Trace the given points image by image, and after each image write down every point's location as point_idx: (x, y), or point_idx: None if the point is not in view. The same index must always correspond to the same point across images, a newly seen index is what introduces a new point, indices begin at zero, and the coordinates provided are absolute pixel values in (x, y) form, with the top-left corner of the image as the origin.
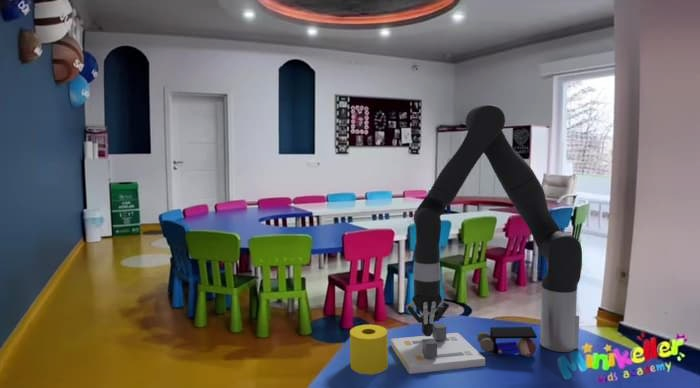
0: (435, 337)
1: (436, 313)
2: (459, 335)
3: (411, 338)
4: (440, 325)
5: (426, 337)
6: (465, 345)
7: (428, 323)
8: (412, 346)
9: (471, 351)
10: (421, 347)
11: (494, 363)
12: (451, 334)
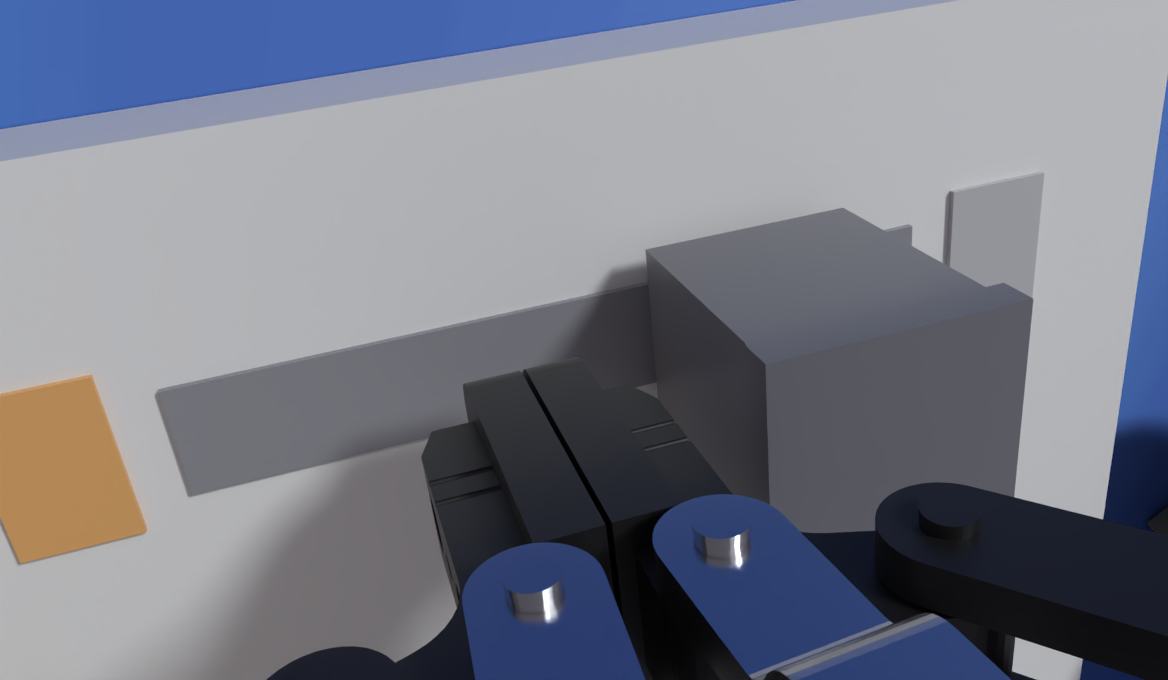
0: (676, 423)
1: (1070, 618)
2: (1143, 110)
3: (156, 228)
4: (923, 454)
5: (519, 177)
6: (1035, 499)
7: (642, 649)
8: (160, 603)
9: (1015, 661)
10: (336, 626)
11: (1112, 676)
12: (1041, 47)
